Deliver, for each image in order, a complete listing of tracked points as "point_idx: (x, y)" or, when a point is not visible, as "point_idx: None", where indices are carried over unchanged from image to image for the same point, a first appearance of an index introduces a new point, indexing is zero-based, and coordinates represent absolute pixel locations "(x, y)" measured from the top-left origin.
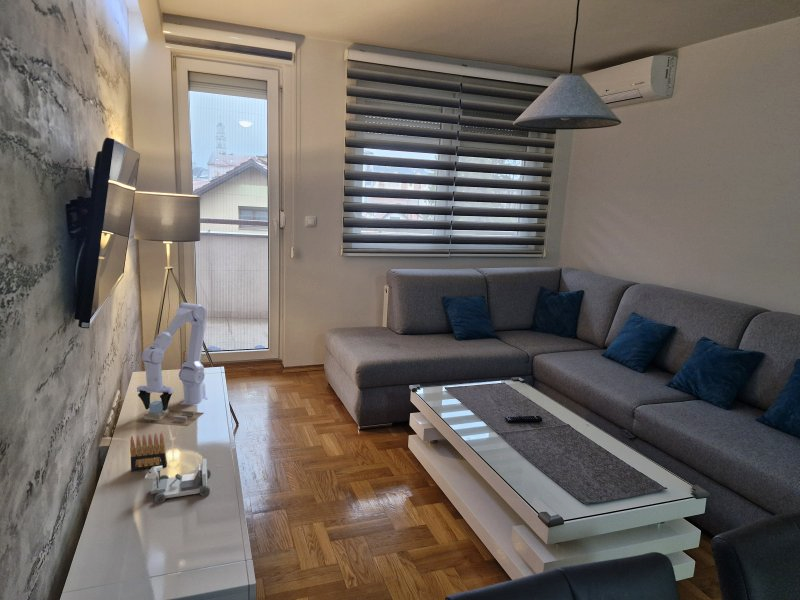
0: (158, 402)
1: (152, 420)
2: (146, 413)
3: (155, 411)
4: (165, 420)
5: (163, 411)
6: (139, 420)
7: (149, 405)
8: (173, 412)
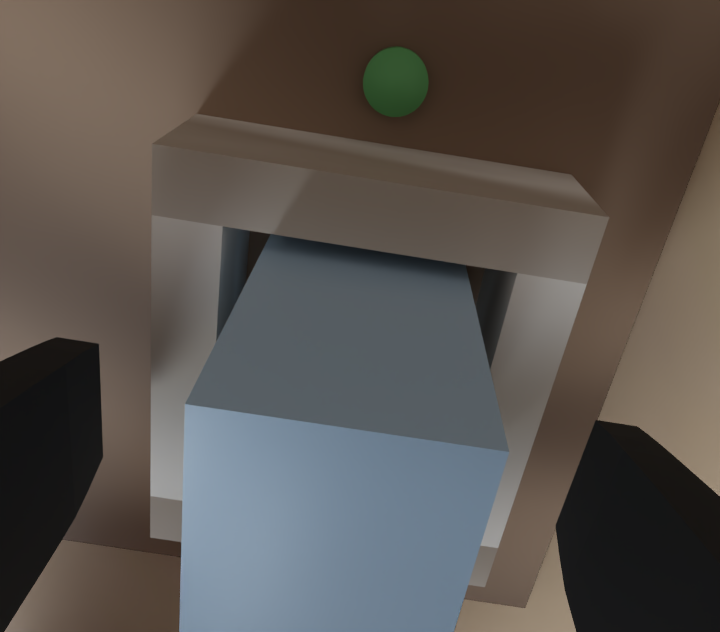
0: (226, 593)
1: (352, 108)
2: (557, 263)
3: (287, 284)
4: (40, 112)
5: (167, 385)
6: (679, 104)
7: (491, 418)
8: (124, 487)
